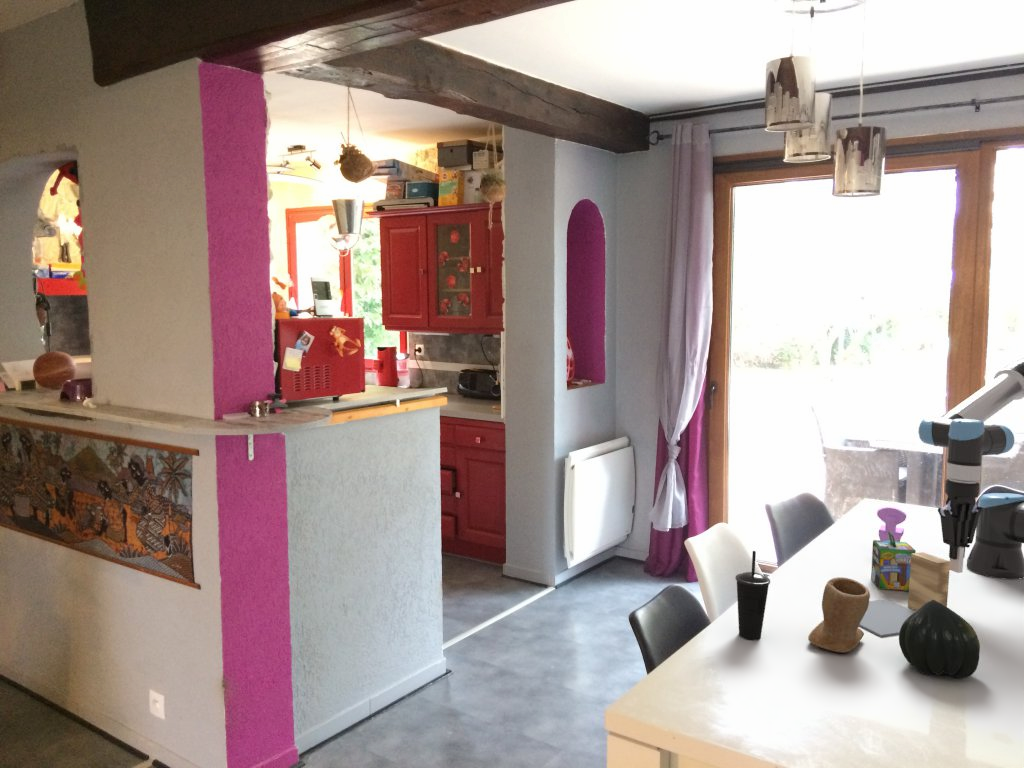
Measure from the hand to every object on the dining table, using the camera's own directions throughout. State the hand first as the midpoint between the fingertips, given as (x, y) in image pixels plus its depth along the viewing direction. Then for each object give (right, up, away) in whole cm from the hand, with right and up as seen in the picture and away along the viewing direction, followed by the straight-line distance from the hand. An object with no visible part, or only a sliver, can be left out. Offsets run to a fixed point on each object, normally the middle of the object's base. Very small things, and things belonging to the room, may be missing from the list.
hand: (955, 570), depth 203 cm
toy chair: (+6, -6, +48) cm, 48 cm away
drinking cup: (-59, -11, -20) cm, 63 cm away
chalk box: (-8, -8, +17) cm, 21 cm away
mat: (-22, -10, -7) cm, 25 cm away
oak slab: (-9, -10, -2) cm, 13 cm away
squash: (-24, -13, -36) cm, 45 cm away
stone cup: (-39, -11, -23) cm, 47 cm away
